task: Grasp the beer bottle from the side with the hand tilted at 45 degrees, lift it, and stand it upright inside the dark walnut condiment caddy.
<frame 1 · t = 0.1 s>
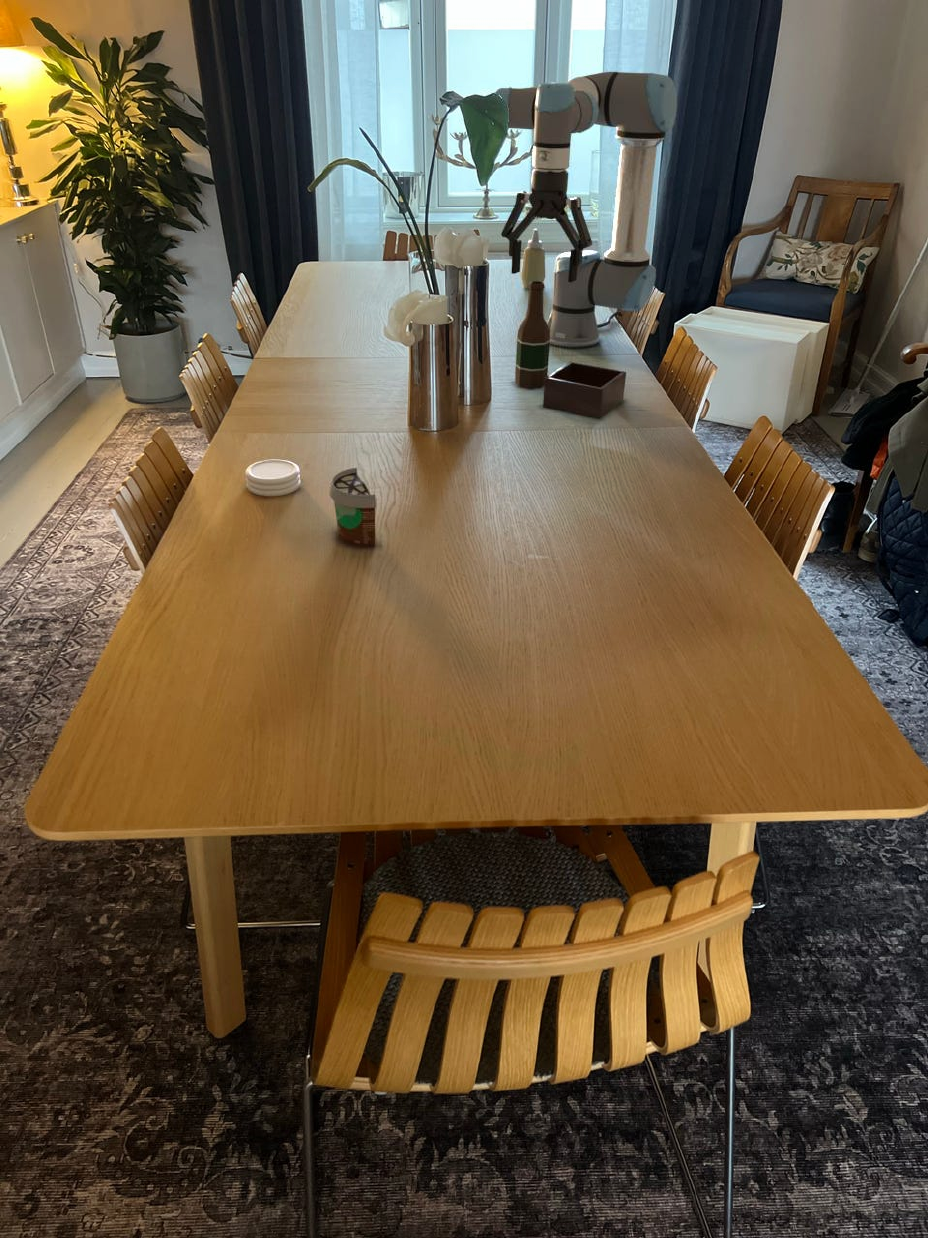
hand: (543, 276, 207), 28 cm above the table, tool pointing down, fingers open, 13 cm apart
squeeze bottle: (532, 288, 313), on the table
beer bottle: (530, 384, 232), on the table
coaster: (273, 487, 180), on the table
food container: (350, 537, 164), on the table
caddy: (583, 404, 221), on the table
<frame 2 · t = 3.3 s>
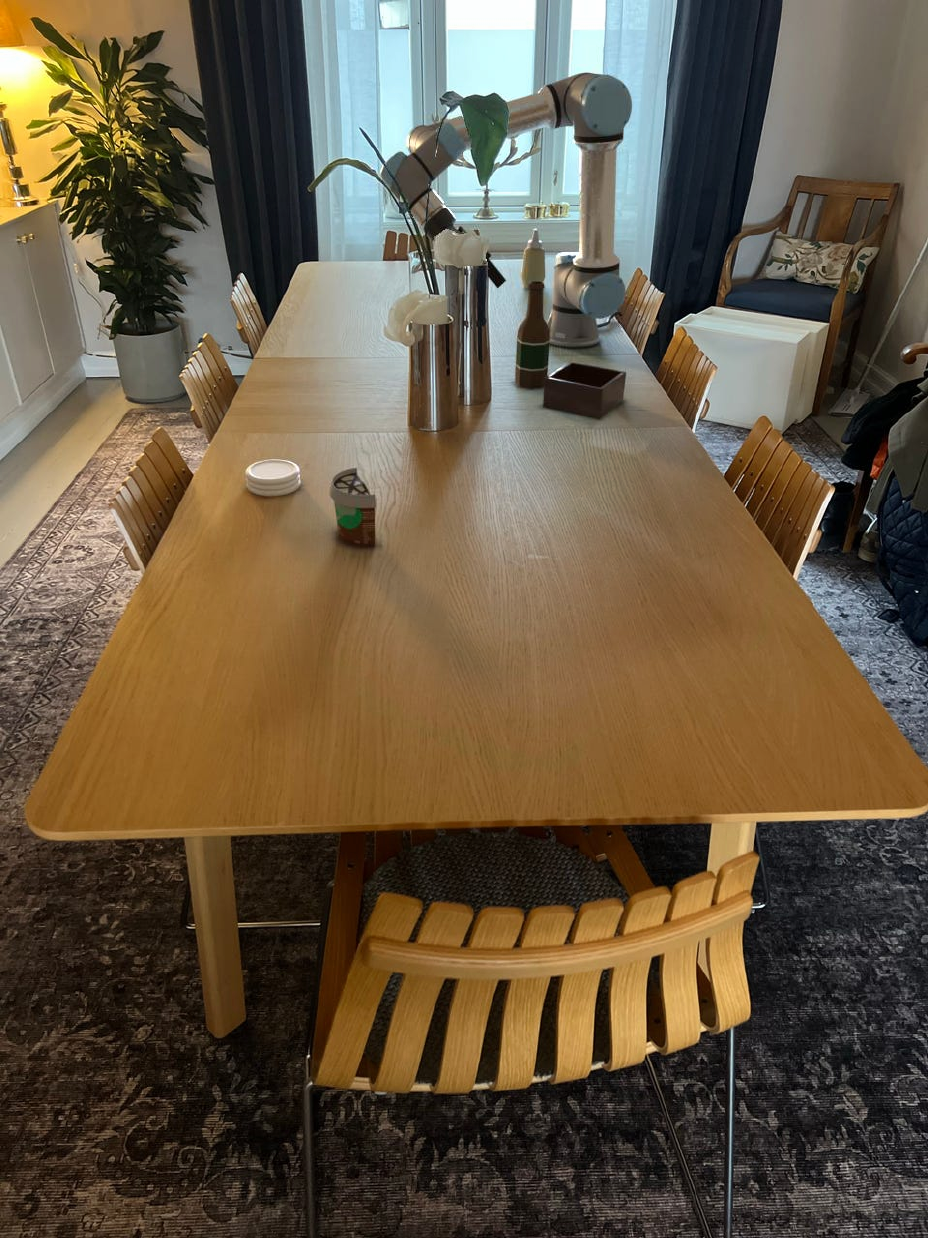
hand: (493, 290, 224), 21 cm above the table, tool tilted 45°, fingers open, 13 cm apart
nothing on the table moved.
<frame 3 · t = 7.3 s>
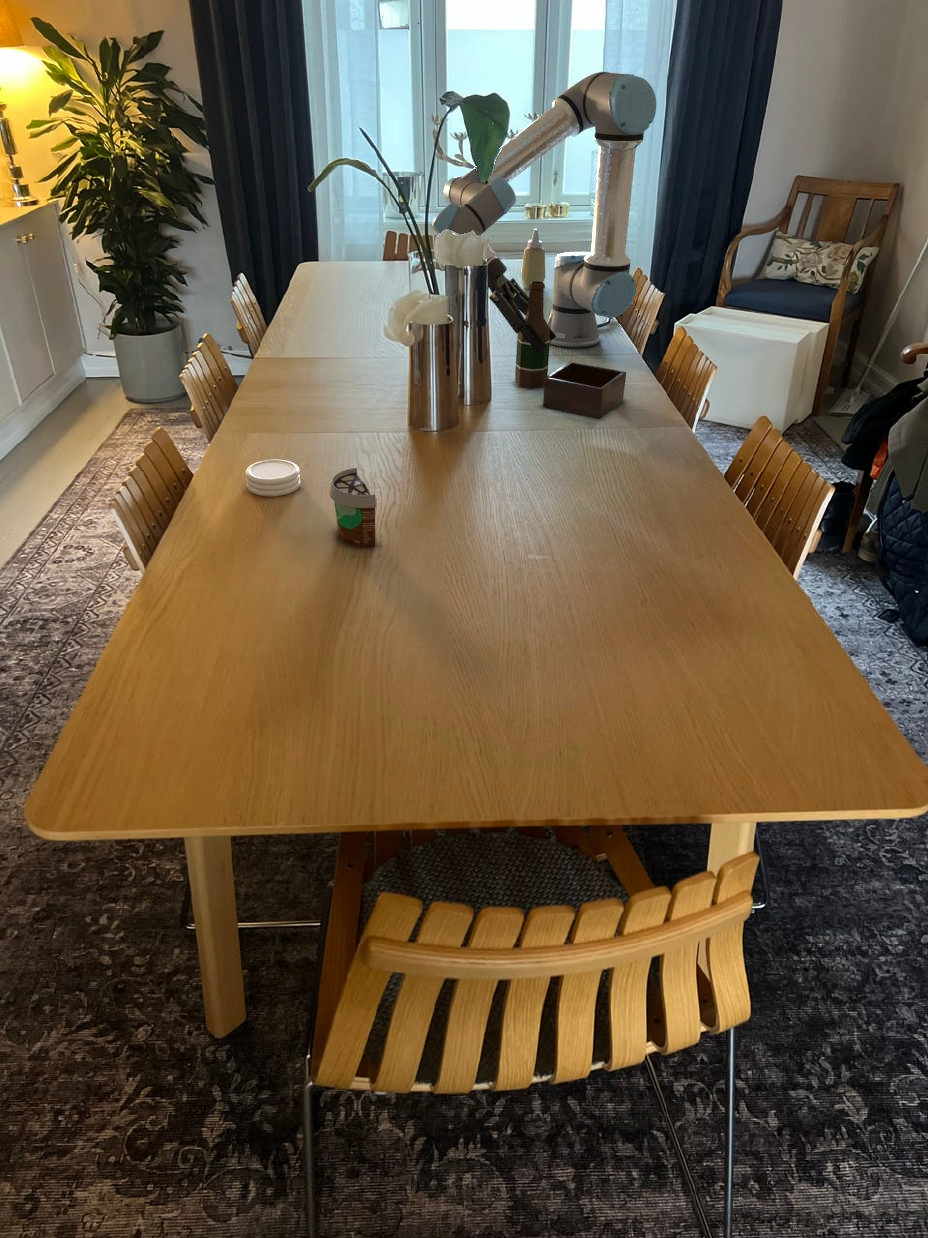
hand: (547, 344, 226), 10 cm above the table, tool tilted 45°, fingers closed on beer bottle, 7 cm apart
beer bottle: (530, 384, 232), on the table, touching gripper
everything else where it was.
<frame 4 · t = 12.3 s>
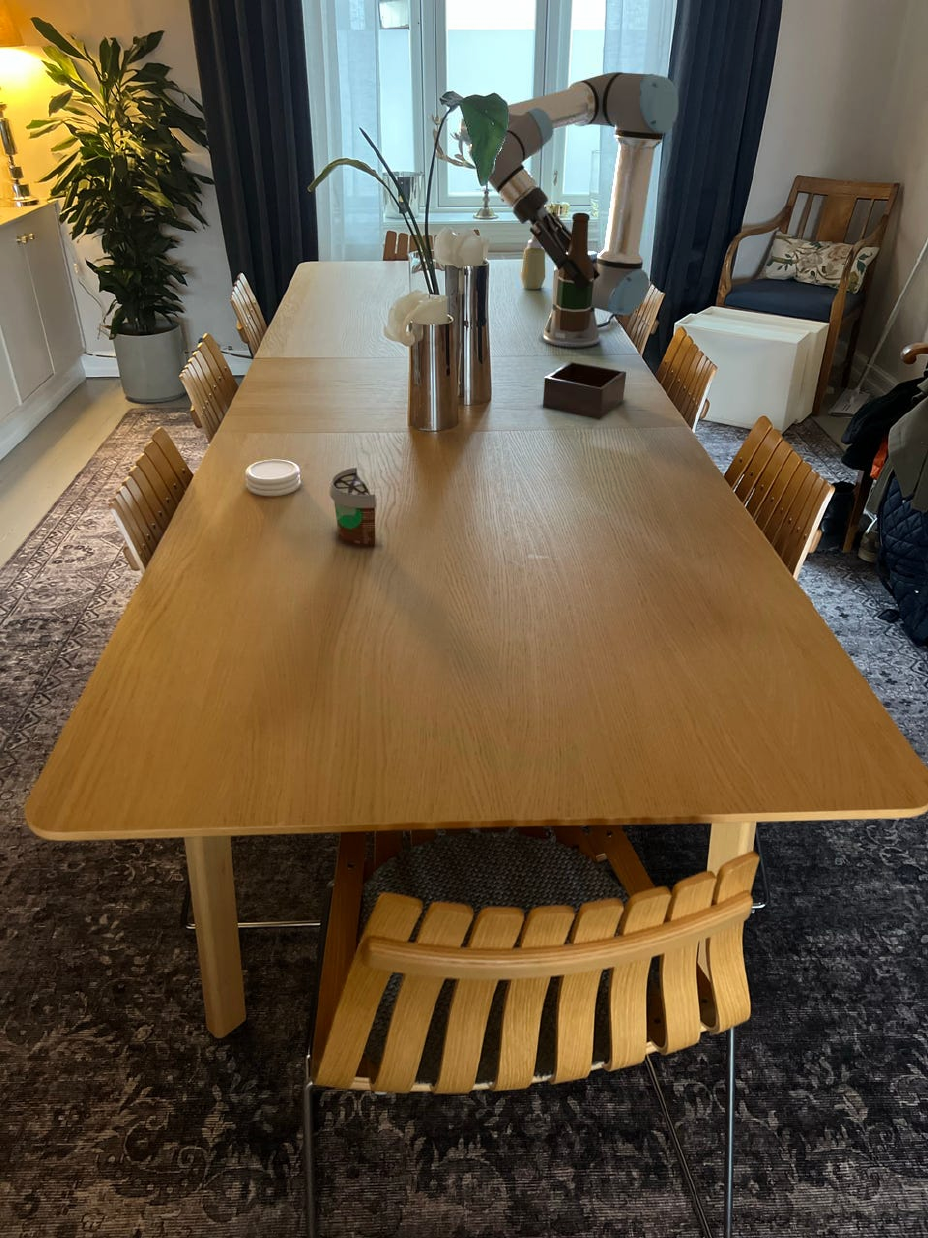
hand: (590, 283, 209), 27 cm above the table, tool tilted 45°, fingers closed on beer bottle, 7 cm apart
beer bottle: (571, 328, 216), point 16 cm above the table, touching gripper
everything else where it was.
when the fingers open (11 cm above the table, at t = 17.6 s): beer bottle stays where it is, resting on caddy.
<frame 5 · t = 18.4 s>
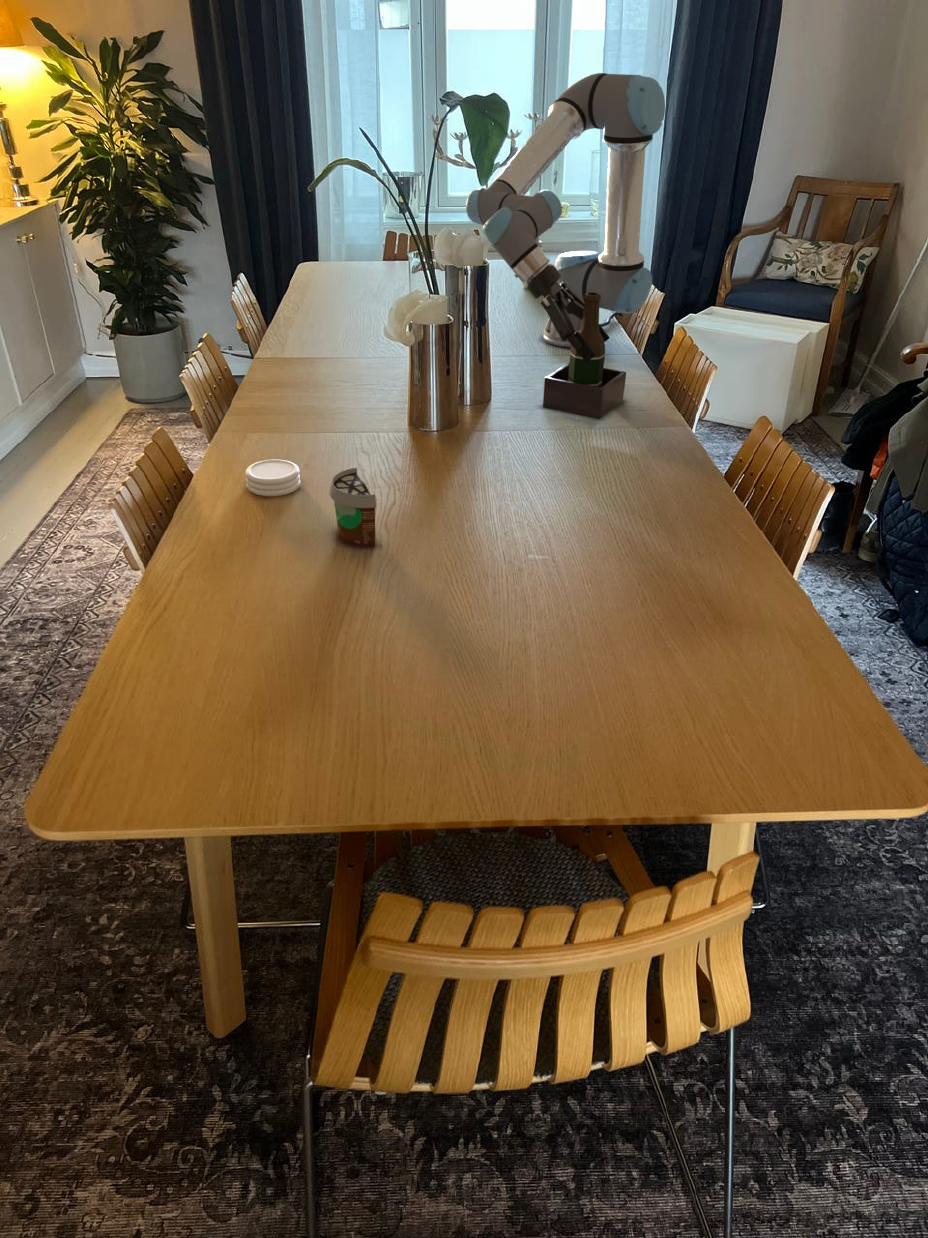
hand: (598, 350, 214), 13 cm above the table, tool tilted 45°, fingers open, 13 cm apart
beer bottle: (583, 400, 221), point 1 cm above the table, touching caddy
everything else where it was.
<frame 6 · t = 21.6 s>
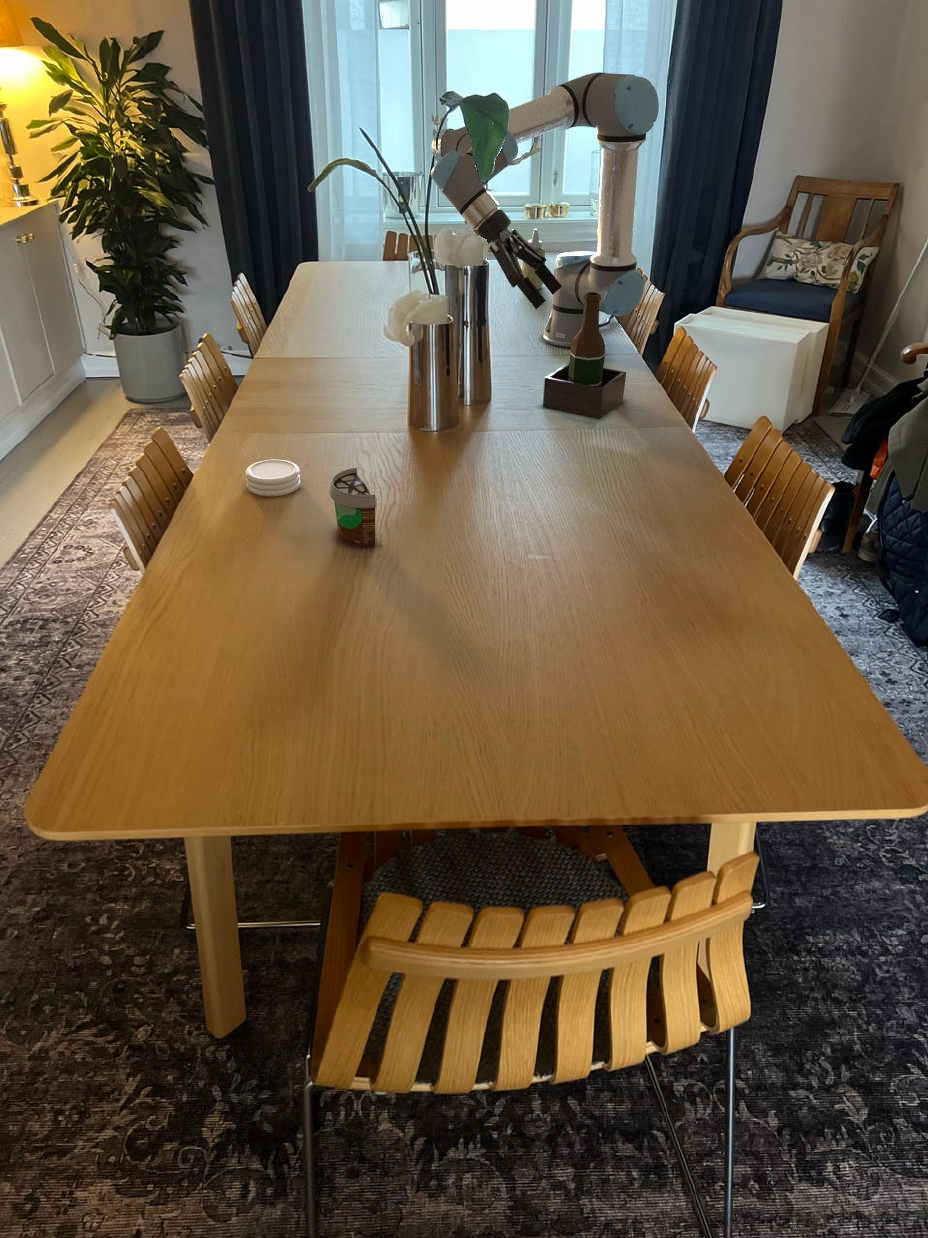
hand: (549, 297, 211), 23 cm above the table, tool tilted 45°, fingers open, 13 cm apart
nothing on the table moved.
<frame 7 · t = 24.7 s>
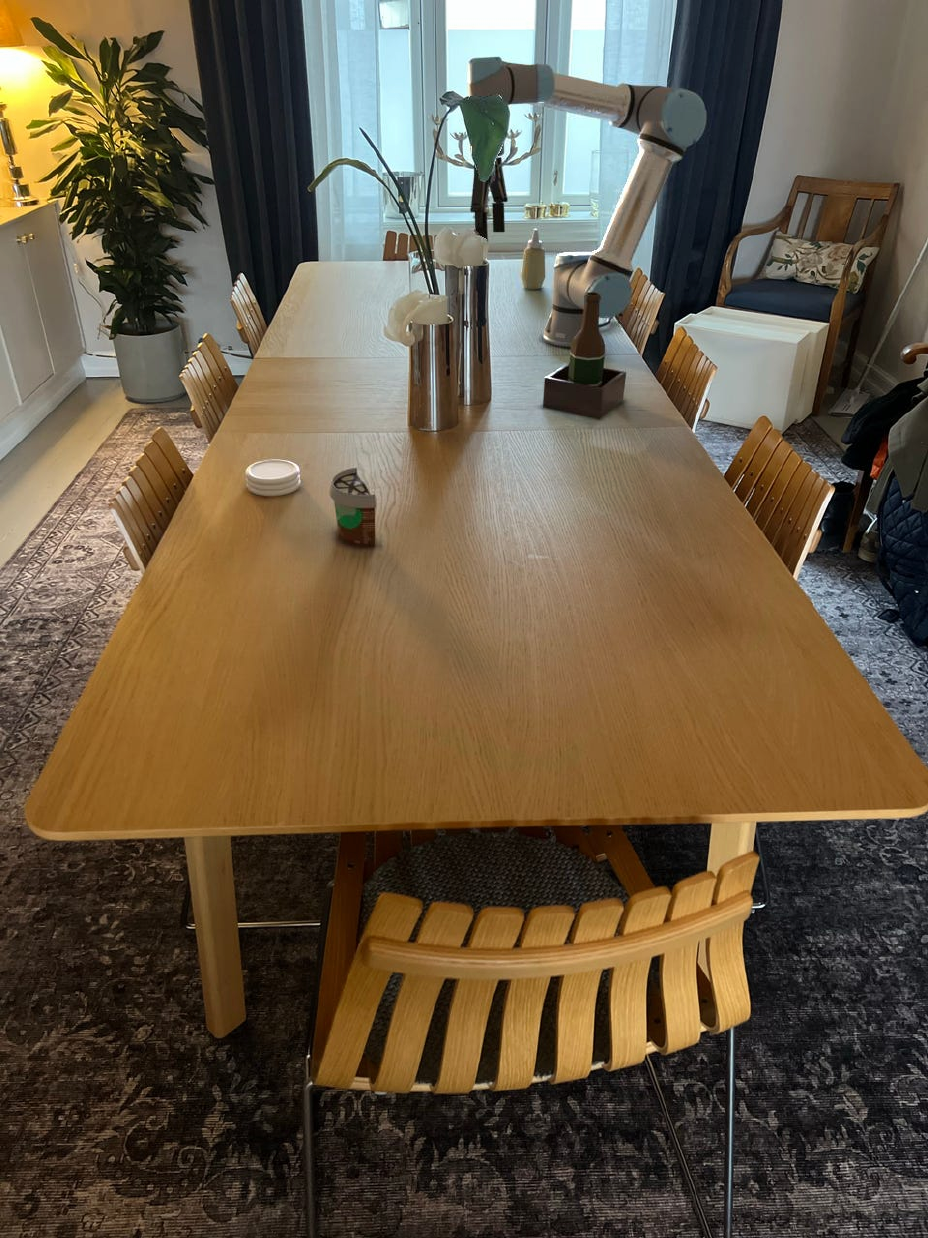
hand: (490, 237, 225), 31 cm above the table, tool pointing down, fingers open, 13 cm apart
nothing on the table moved.
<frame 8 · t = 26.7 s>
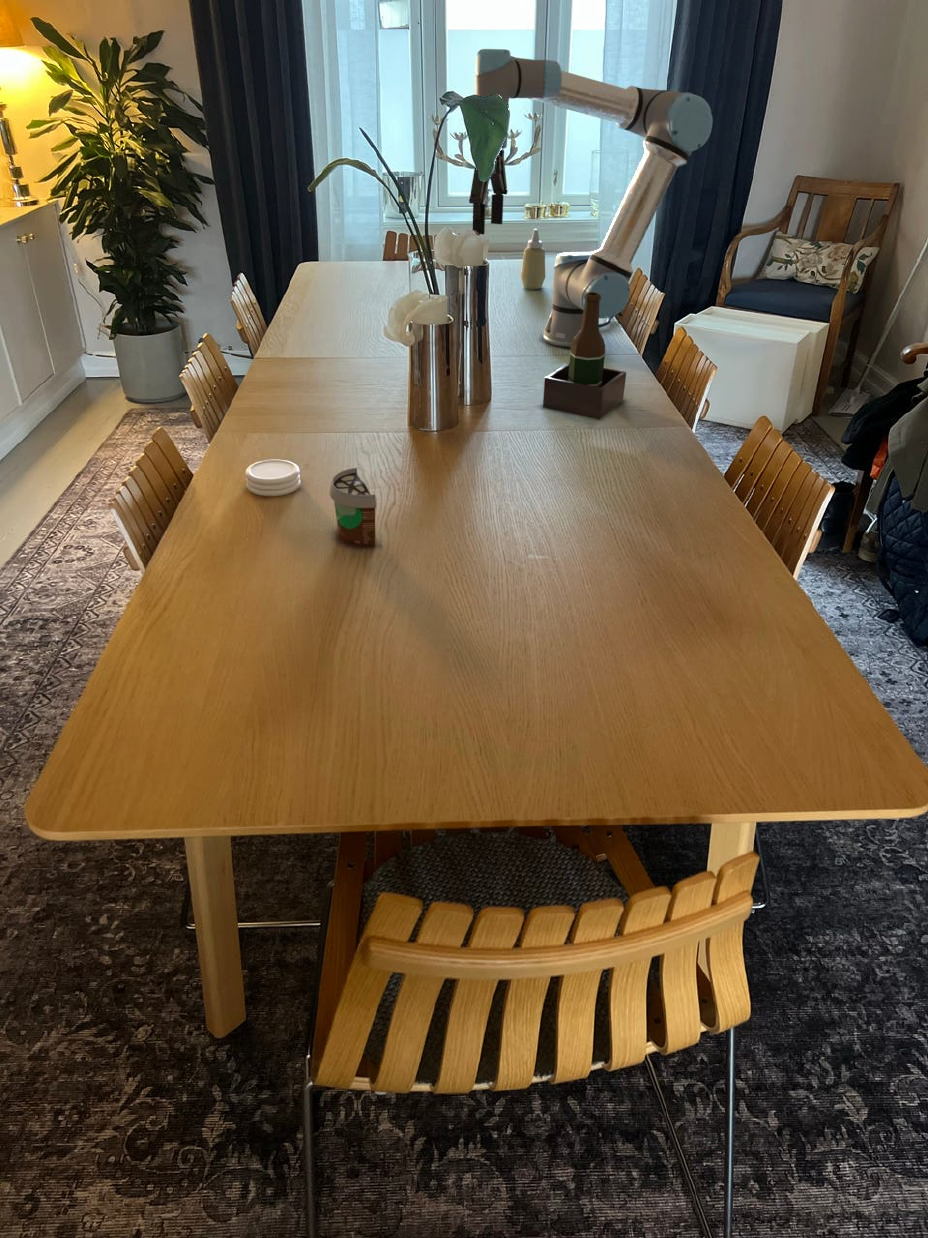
hand: (487, 228, 227), 33 cm above the table, tool pointing down, fingers open, 13 cm apart
nothing on the table moved.
at the end: beer bottle inside the target area in the caddy (0.1 cm from its centre), point 0.8 cm above the caddy's base; beer bottle tilted 0°; the gripper is holding nothing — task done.
